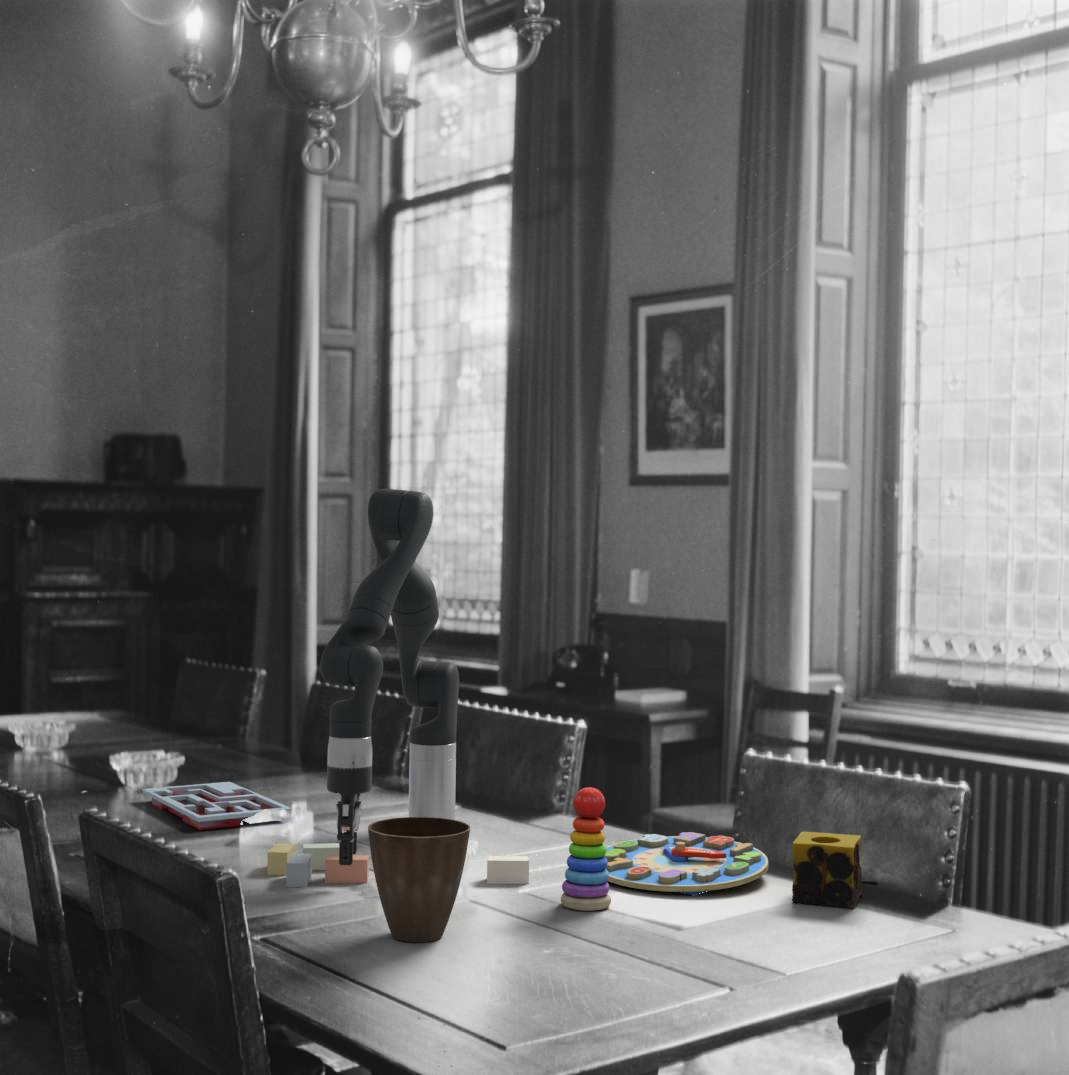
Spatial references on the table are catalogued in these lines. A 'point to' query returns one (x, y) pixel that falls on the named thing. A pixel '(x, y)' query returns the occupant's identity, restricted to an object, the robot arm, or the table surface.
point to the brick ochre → (279, 858)
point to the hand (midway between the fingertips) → (347, 859)
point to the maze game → (211, 803)
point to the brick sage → (320, 853)
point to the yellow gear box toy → (827, 869)
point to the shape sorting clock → (684, 863)
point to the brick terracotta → (347, 870)
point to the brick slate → (299, 870)
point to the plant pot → (418, 873)
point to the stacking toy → (587, 856)
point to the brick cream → (507, 870)
